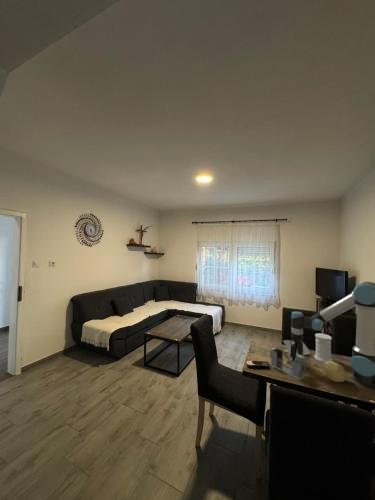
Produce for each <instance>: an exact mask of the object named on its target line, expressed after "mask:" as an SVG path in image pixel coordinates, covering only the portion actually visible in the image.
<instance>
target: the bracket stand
mask: <svg viewBox="0 0 375 500" xmlns="http://www.w3.org/2000/svg"><path fill="white" fill-rule="evenodd" d="M269 358H270V363H269V366H271V367H273V368H274V369H277V370H279V371H281V372H283V373H284V374H287V375H289V376H290V377H292V378H295V379H297V380H298V381H302V380H303V379H305V378H307V377H308V373H306V369H308V367H307V360H305V359H303V358H301V357H299V362H298V361H295V360H293V366H291V365H289V364H286V363H284V350H282V349H281V348H278V347H276V348H273V349H271V350H269Z"/></svg>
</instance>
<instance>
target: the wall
mask: <svg viewBox="0 0 375 500" xmlns="http://www.w3.org/2000/svg"><path fill="white" fill-rule="evenodd" d="M282 342H283V344H284V345H285V347H286V350H289V351H291V343H293V339H291V340H289V339H287V340H282ZM295 347H296V346H295ZM297 354H298V351H297ZM302 354H303V355H302V356H305V355H310V354H312V352H311V351H310V349H309V348H308V347H307V346H306V344H305V342H303V353H302Z"/></svg>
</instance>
